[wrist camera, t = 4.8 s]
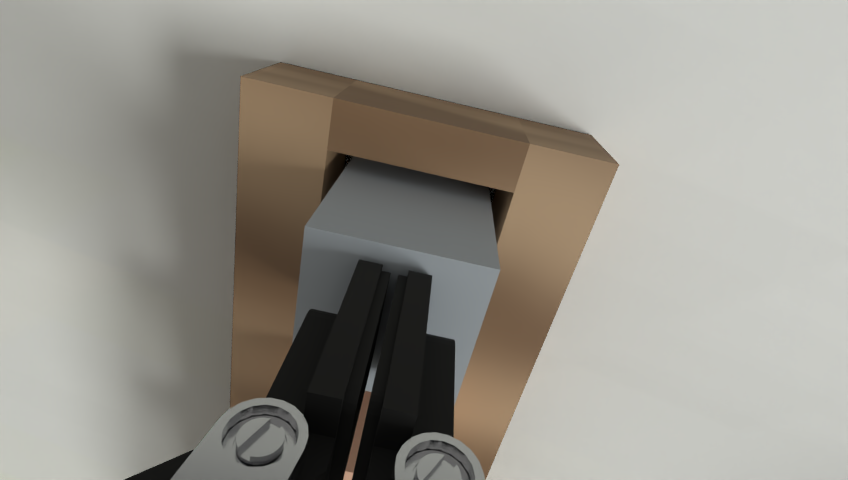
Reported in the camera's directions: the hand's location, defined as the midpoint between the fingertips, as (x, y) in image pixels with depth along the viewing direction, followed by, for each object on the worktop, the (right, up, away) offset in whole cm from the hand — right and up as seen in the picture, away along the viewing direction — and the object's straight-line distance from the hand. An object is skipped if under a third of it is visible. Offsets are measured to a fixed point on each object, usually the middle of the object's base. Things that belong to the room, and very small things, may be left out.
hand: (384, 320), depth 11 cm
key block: (-1, -5, +10) cm, 11 cm away
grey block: (0, +2, +5) cm, 5 cm away
